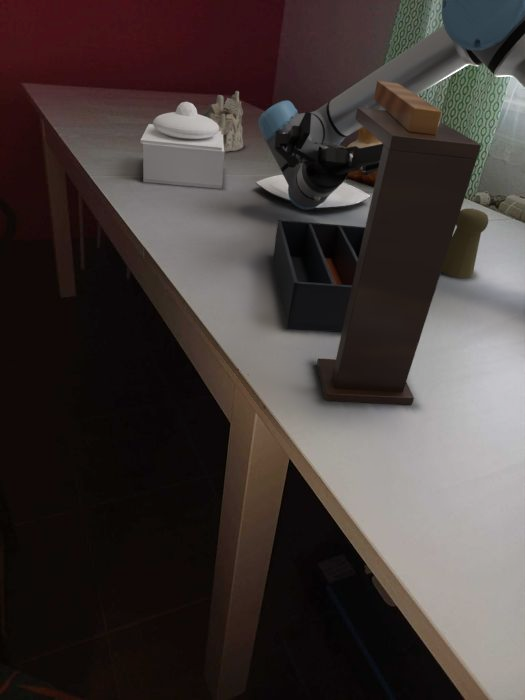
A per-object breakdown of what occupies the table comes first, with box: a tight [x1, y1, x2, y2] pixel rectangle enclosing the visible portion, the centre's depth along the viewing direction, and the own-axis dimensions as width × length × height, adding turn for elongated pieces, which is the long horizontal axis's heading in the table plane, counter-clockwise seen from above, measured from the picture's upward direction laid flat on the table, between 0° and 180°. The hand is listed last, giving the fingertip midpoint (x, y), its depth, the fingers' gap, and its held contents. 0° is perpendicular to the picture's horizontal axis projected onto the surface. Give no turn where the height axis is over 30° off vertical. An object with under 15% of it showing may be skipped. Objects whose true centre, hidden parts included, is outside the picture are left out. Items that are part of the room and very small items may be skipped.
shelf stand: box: [316, 107, 482, 405], centre depth 59 cm, size 15×10×28 cm, turn 3°
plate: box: [255, 174, 371, 211], centre depth 123 cm, size 23×23×2 cm
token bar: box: [374, 81, 443, 135], centre depth 56 cm, size 20×2×2 cm, turn 179°
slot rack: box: [272, 219, 365, 333], centre depth 81 cm, size 23×16×7 cm, turn 3°
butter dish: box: [140, 101, 226, 190], centre depth 123 cm, size 18×18×16 cm
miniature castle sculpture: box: [202, 90, 244, 153], centre depth 153 cm, size 16×16×15 cm
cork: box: [441, 208, 489, 279], centre depth 93 cm, size 6×6×11 cm
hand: (358, 128), depth 71 cm, fingers open, 13 cm apart
